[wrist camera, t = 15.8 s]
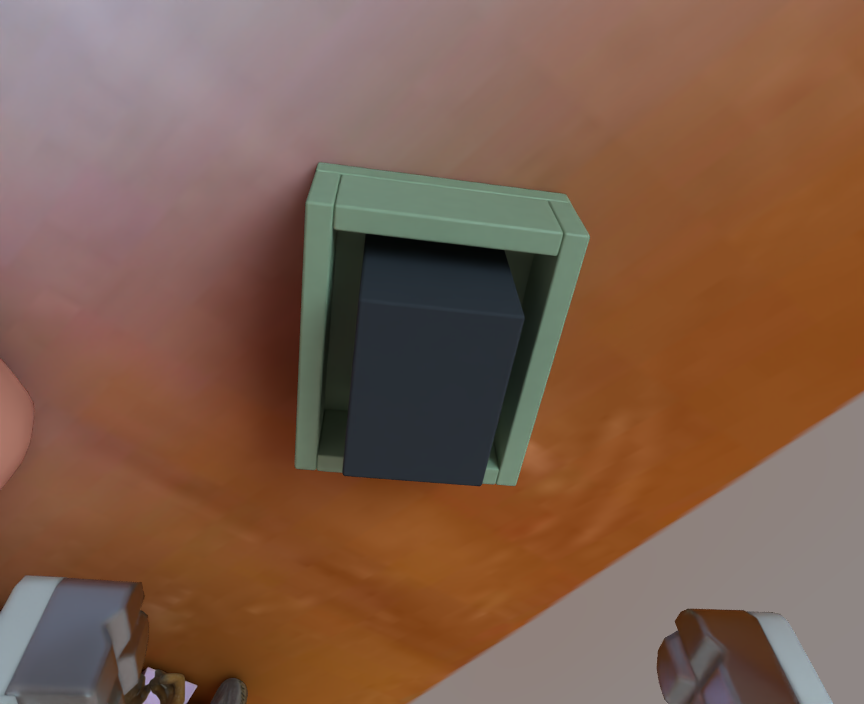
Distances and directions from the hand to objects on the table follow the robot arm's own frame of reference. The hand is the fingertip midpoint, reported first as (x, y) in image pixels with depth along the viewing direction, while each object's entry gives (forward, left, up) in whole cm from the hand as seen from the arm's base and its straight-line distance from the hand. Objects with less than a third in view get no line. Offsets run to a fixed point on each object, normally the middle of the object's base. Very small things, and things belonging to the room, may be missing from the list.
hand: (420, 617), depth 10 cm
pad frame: (0, 0, -10) cm, 10 cm away
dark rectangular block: (0, 0, -9) cm, 9 cm away
